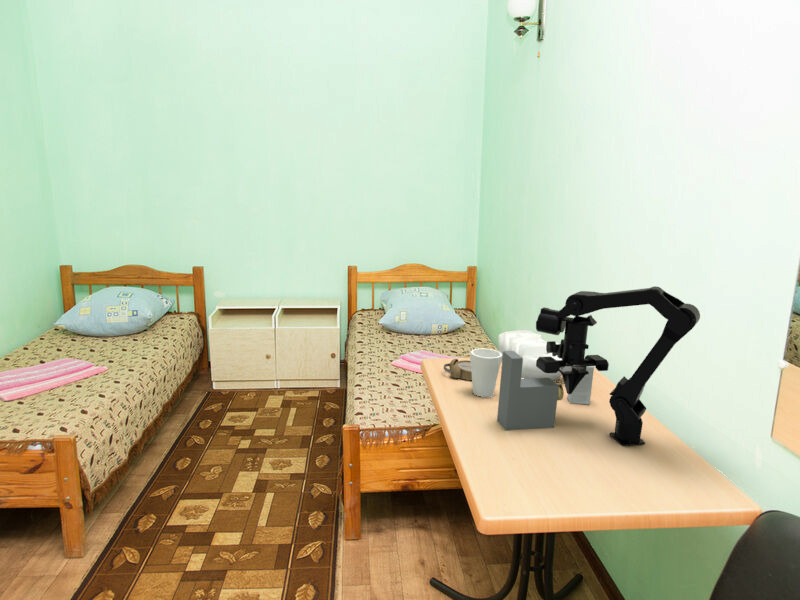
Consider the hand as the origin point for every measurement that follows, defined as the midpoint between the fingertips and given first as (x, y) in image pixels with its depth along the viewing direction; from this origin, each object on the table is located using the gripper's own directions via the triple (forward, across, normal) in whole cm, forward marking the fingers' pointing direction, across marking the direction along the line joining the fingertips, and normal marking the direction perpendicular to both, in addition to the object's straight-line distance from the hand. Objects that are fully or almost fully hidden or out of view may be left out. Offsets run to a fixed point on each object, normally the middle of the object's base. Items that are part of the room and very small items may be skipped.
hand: (569, 393), depth 155 cm
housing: (+8, +12, 0) cm, 15 cm away
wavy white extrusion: (+9, -10, -43) cm, 45 cm away
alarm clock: (+9, +16, -38) cm, 42 cm away
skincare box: (+9, -11, -13) cm, 19 cm away
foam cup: (+8, +16, -22) cm, 29 cm away
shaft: (+2, +9, 0) cm, 9 cm away
